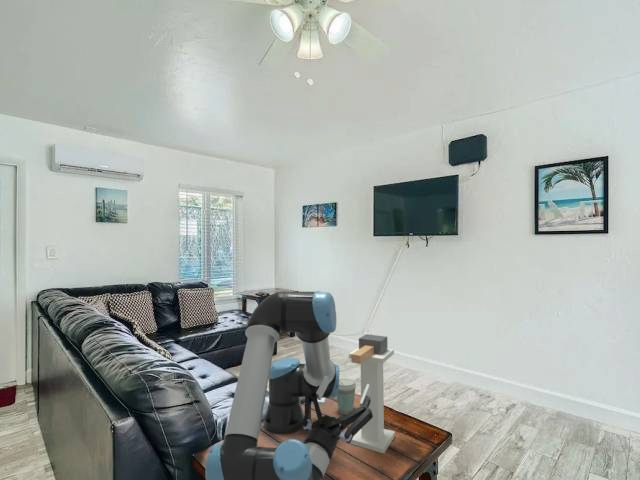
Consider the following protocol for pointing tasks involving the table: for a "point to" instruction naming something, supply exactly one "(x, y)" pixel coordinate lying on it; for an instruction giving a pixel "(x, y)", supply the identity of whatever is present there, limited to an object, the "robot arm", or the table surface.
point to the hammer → (369, 347)
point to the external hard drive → (320, 401)
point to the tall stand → (374, 405)
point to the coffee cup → (346, 396)
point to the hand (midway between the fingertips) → (347, 382)
